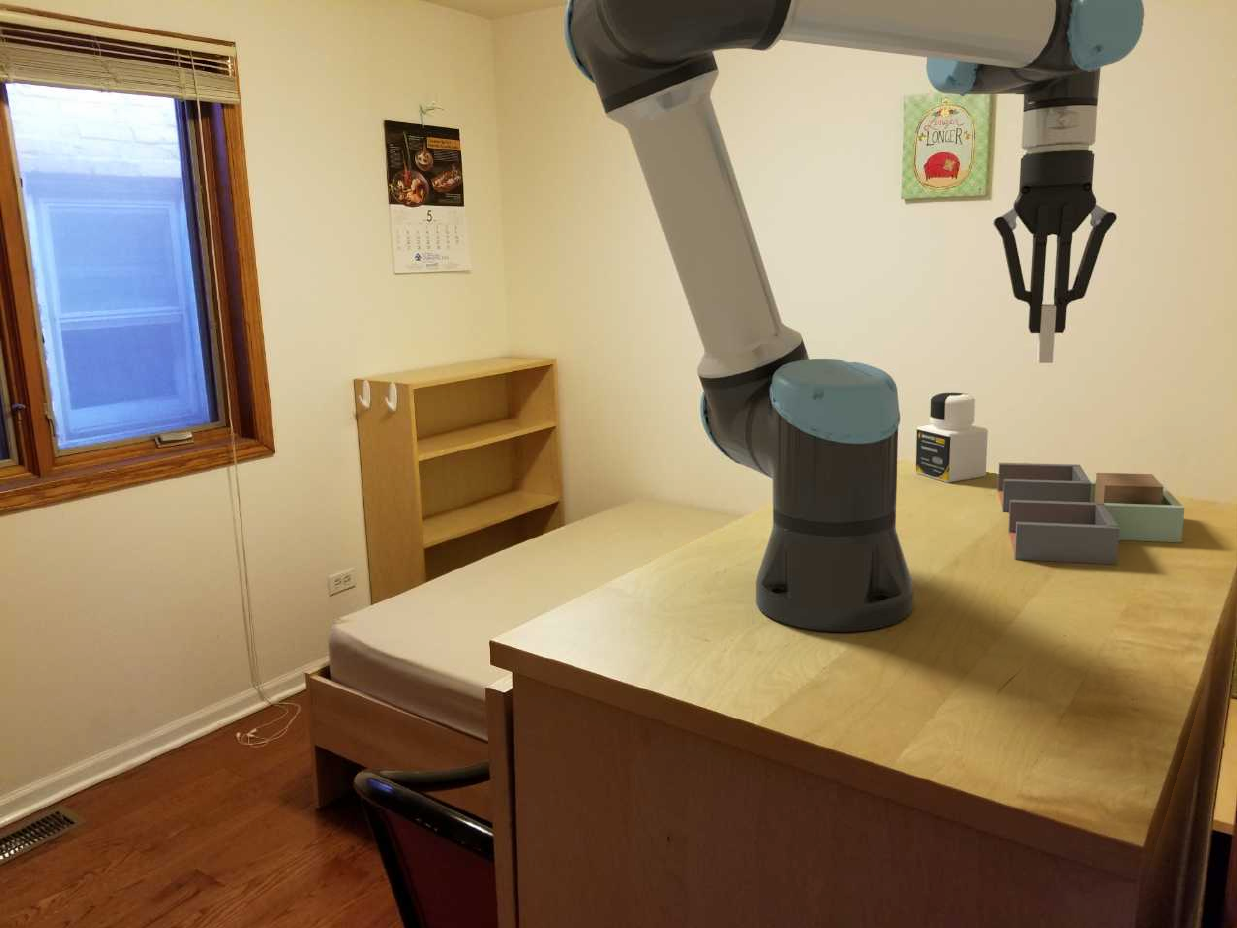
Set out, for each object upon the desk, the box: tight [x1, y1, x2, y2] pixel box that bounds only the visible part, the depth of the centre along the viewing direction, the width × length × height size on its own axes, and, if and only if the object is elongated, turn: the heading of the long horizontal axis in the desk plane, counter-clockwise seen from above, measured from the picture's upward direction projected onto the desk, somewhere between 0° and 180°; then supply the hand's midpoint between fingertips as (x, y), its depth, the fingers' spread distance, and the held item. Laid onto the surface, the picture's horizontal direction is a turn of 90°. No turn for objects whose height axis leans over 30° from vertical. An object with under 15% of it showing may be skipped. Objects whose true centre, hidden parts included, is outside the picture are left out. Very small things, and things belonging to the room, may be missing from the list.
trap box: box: [997, 462, 1185, 565], centre depth 116 cm, size 18×29×4 cm, turn 163°
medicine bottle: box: [915, 392, 989, 484], centre depth 141 cm, size 7×7×12 cm
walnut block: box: [1095, 472, 1163, 505], centre depth 114 cm, size 6×6×6 cm
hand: (1044, 361), depth 114 cm, fingers closed
